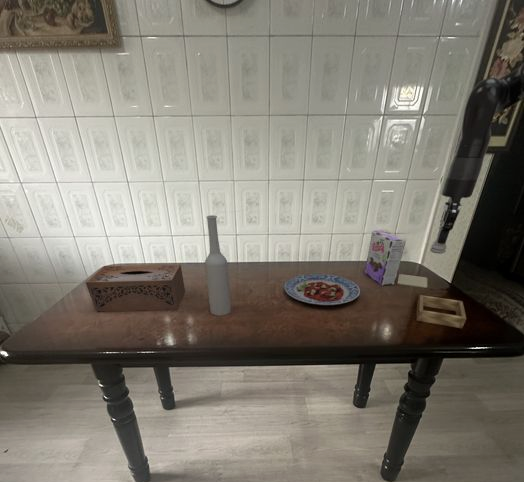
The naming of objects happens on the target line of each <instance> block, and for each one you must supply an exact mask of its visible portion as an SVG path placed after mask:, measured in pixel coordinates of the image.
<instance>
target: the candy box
mask: <svg viewBox="0 0 524 482" xmlns="http://www.w3.org/2000/svg"><path fill="white" fill-rule="evenodd" d="M406 242H407V239H406V238H403V237H400V236H398V235H397V234H394V233H393V232H390V231H388V229H379V230H378V229H377V230H372V231H371V237H370V241H369V247H368V252H367V258H366V263H365V268H364V271H363V272H364V274H365V275H367V276H368V277H369V278H371V280H372V281H374V282H376V284H378V285H379V286H392V285H395V283H396V279H397V276H398V275H397V274H398V271H399V268H400V265H401V262H402V258H403V257H402V256H403V254H404V250H405V246H406Z"/></svg>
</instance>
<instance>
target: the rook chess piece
mask: <svg viewBox="0 0 524 482" xmlns="http://www.w3.org/2000/svg"><path fill="white" fill-rule="evenodd" d="M446 225H447V224H446ZM448 225H450V224H448ZM441 227H442V224H441V226H440V225H439V227H438V228H439V230H440V231H439V230H438V233H439V234H438V233H437V236H438V237H437V236H436V239H435V241H434V242H433V244H431V246H430V248H429V251H430V253H433V254H437V255H438V254H439V255H440V254H445V253H446V249H447V242H446V243H445V244H440V243H438V242H437V241H438V238H439V235H440V232H441Z"/></svg>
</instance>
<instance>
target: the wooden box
mask: <svg viewBox="0 0 524 482" xmlns="http://www.w3.org/2000/svg"><path fill="white" fill-rule="evenodd" d="M424 307H427V308H433V309H438V310H439V309H440V310H444V311H445V310H447V311H452V312H455V314H449V313H443V312H438V311H432V310H431V311H430V310H424ZM415 318H416V319H415V320H416V321H417V322H422V323H428V324H435V325H440V326H444V327H445V326H447V327H451V328H458V329H463V328H464V326H465V324H466V321H467V315H466V311H465V306H464V302H463V301H462V300H457V299H450V298H443V297H436V296H429V295H424V294H420V295H419V296H418V300H417V303H416V317H415Z"/></svg>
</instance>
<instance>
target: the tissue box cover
mask: <svg viewBox="0 0 524 482" xmlns="http://www.w3.org/2000/svg"><path fill="white" fill-rule="evenodd" d="M85 285H86V288H87V290H88V293H89V295H90V299H91V302H92V304H93V307H94V311H95V312H96V311H120V312H134V311H133V310H155V311H168V310H167V309H178V310H179V308H178V307H180V305H181V303H182V301H181V299H182V300H183V298H182V297H184V296H183V294H184V295H185V293H186V288H185V281H184V276H183V270H182V264H181V263H172V264H171V263H170V264H169V263H168V264H165V263H164V264H130V265H129V264H127V265H126V264H125V265H123V264H121V265H103V266H102V267H101V268H100V269H99V270H98V271H97V272H95V274H93V275H92V276H91V277H90V278H89V279H87V280H86V281H85ZM184 292H185V293H184ZM180 302H181V303H180ZM179 304H180V305H179Z"/></svg>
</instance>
